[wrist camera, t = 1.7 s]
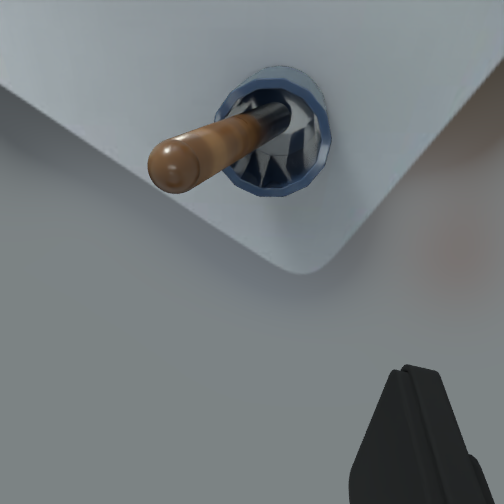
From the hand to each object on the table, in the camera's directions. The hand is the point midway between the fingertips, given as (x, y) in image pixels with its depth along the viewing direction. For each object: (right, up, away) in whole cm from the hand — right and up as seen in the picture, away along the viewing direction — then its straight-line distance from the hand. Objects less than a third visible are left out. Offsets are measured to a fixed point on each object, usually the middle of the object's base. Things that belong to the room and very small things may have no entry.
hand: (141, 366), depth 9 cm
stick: (+4, +11, +22) cm, 25 cm away
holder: (+4, +11, +22) cm, 25 cm away
